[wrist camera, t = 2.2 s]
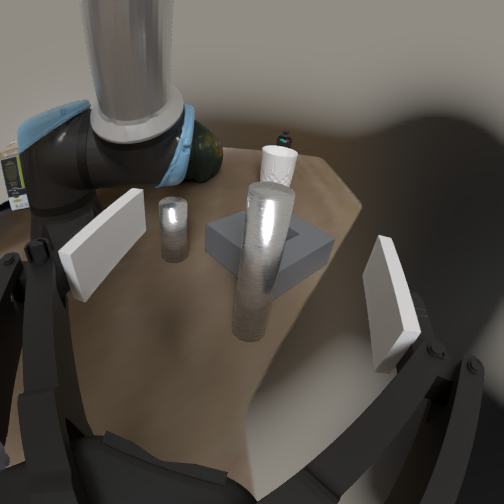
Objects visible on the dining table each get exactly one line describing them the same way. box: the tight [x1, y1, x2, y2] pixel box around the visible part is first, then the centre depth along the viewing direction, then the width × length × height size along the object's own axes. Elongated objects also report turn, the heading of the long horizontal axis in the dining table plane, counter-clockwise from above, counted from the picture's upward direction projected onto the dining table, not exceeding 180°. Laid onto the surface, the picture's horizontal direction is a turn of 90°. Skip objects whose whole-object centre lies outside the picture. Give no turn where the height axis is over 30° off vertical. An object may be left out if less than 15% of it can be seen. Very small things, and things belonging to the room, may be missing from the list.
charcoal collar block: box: [205, 210, 335, 300], centre depth 46 cm, size 14×14×5 cm
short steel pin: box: [159, 197, 187, 263], centre depth 43 cm, size 4×4×9 cm
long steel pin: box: [232, 181, 295, 342], centre depth 30 cm, size 4×4×18 cm
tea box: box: [0, 140, 29, 210], centre depth 52 cm, size 15×10×15 cm, turn 110°
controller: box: [276, 131, 292, 149], centre depth 81 cm, size 4×12×10 cm, turn 173°
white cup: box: [260, 146, 298, 187], centre depth 66 cm, size 8×8×10 cm
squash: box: [184, 120, 223, 183], centre depth 68 cm, size 14×15×15 cm
